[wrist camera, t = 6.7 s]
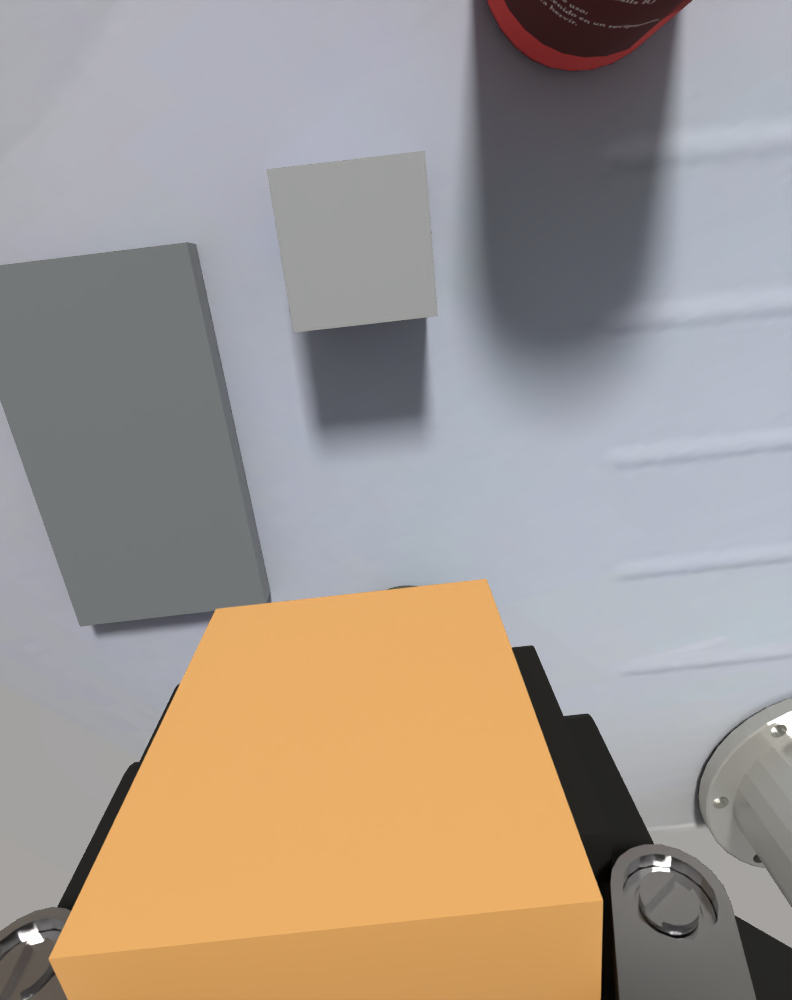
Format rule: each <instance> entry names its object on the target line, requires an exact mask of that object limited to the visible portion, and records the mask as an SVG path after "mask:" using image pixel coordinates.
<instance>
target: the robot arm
mask: <svg viewBox="0 0 792 1000" xmlns="http://www.w3.org/2000/svg"><path fill="white" fill-rule="evenodd" d="M512 651H513V653H514V656H515V659H516V662H517V664H518V667H519V670H520V673H521V676H522V678H523V681H524V684H525V687H526V689H527V692H528V695H529V698H530V700H531V703H532V706H533V709H534V711H535V714H536V717H537V720H538V722H539V725H540V728H541V731H542V733H543V736H544V739H545V742H546V744H547V747H548V750H549V753H550V755H551V758H552V761H553V764H554V766H555V769H556V772H557V775H558V777H559V780H560V783H561V786H562V788H563V791H564V794H565V797H566V800H567V802H568V805H569V808H570V811H571V813H572V816H573V819H574V822H575V824H576V827H577V830H578V833H579V835H580V838H581V841H582V844H583V846H584V849H585V852H586V855H587V857H588V860H589V863H590V866H591V868H592V871H593V874H594V877H595V879H596V882H597V885H598V888H599V890H600V893H601V896H602V899H603V926H602V968H601V1000H792V948H790V947H788V946H787V945H785V944H783V943H782V942H780V941H778V940H776V939H775V938H773V937H771V936H769V935H768V934H766V933H764V932H763V931H761V930H759V929H757V928H755V927H754V926H752V925H751V924H749V923H747V922H745V921H744V920H742V919H740V918H738V917H736V916H735V915H734V912H733V909H732V905H731V902H730V900H729V897H728V895H727V893H726V890H725V888H724V886H723V885H722V883H721V882H720V881H719V880H718V878H717V877H716V876H715V874H714V873H713V872H712V871H711V870H710V869H709V868H708V867H706V866H705V865H704V864H703V863H701V862H700V861H699V860H697V858H695V857H693V856H691V855H689V854H687V853H685V852H683V851H681V850H679V849H676V848H672V847H669V846H665V845H660V844H658V845H657V844H654V843H653V841H652V839H651V837H650V835H649V833H648V831H647V828H646V826H645V824H644V822H643V820H642V818H641V816H640V814H639V812H638V810H637V808H636V806H635V804H634V802H633V800H632V798H631V796H630V794H629V792H628V789H627V787H626V785H625V783H624V781H623V779H622V777H621V775H620V773H619V771H618V769H617V767H616V765H615V763H614V761H613V759H612V757H611V755H610V753H609V751H608V748H607V746H606V744H605V742H604V740H603V738H602V736H601V734H600V732H599V730H598V728H597V726H596V724H595V722H594V720H593V719H592V717H591V716H590V715H589V714H579V715H570V716H563V714H562V711H561V709H560V707H559V704H558V702H557V700H556V697H555V695H554V693H553V690H552V688H551V685H550V683H549V681H548V678H547V676H546V674H545V671H544V669H543V667H542V664H541V662H540V660H539V657H538V655H537V652H536V650H535V648H534V646H532V645H531V646H522V647H513V648H512ZM179 685H180V684H179ZM179 685H177V686H176V688H175V690H174V692H173V694H172V696H171V698H170V700H169V702H168V704H167V706H166V708H165V710H164V712H163V714H162V716H161V718H160V720H159V723H158V725H157V727H156V729H155V731H154V733H153V735H152V737H151V739H150V741H149V743H148V745H147V747H146V749H145V751H144V753H143V756H142V758H141V760H140V762H134V763H133V764H132V765H130V766H129V768H128V769H127V771H126V772H125V774H124V776H123V778H122V780H121V782H120V784H119V786H118V788H117V790H116V792H115V793H114V795H113V797H112V799H111V802H110V804H109V805H108V807H107V810H106V811H105V813H104V815H103V817H102V819H101V821H100V823H99V825H98V827H97V829H96V831H95V834H94V835H93V837H92V839H91V841H90V843H89V845H88V847H87V849H86V852H85V853H84V855H83V857H82V859H81V861H80V863H79V865H78V867H77V869H76V871H75V873H74V875H73V877H72V879H71V881H70V883H69V885H68V887H67V889H66V891H65V893H64V895H63V897H62V899H61V901H60V903H59V905H58V907H57V908H56V907H50V908H46V909H41V910H37V911H34V912H32V913H30V914H28V915H25V916H23V917H21V918H19V919H17V920H16V921H14V922H13V923H11V924H10V925H9V926H7V927H5V928H4V929H3V930H1V931H0V1000H68V999H67V997H66V995H65V993H64V991H63V988H62V986H61V984H60V982H59V980H58V978H57V976H56V974H55V972H54V970H53V968H52V965H51V963H50V961H49V957H50V955H51V952H52V950H53V948H54V946H55V944H56V942H57V940H58V938H59V936H60V934H61V932H62V929H63V927H64V925H65V923H66V921H67V919H68V917H69V915H70V913H71V911H72V909H73V907H74V904H75V902H76V900H77V898H78V896H79V894H80V892H81V890H82V888H83V886H84V884H85V881H86V879H87V877H88V875H89V873H90V871H91V869H92V867H93V865H94V863H95V861H96V858H97V856H98V854H99V852H100V850H101V848H102V846H103V844H104V842H105V840H106V838H107V836H108V833H109V831H110V829H111V827H112V825H113V823H114V821H115V819H116V817H117V815H118V813H119V810H120V808H121V806H122V804H123V802H124V800H125V798H126V796H127V794H128V792H129V790H130V787H131V785H132V783H133V781H134V779H135V777H136V775H137V773H138V771H139V769H140V767H141V764H142V762H143V760H144V758H145V756H146V754H147V752H148V750H149V748H150V746H151V744H152V742H153V739H154V737H155V735H156V733H157V731H158V729H159V727H160V725H161V723H162V721H163V719H164V716H165V714H166V712H167V710H168V708H169V706H170V704H171V702H172V700H173V698H174V696H175V693H176V691H177V689H178V687H179ZM699 805H700V811H701V814H702V816H703V819H704V821H705V824H706V825H707V827H708V828H709V830H710V832H711V833H712V835H713V837H714V838H715V840H716V842H717V843H718V844H720V846H722V848H723V849H724V850H725V851H726V852H727V853H729V854H731V855H732V856H734V857H735V858H737V859H739V860H741V861H743V862H745V863H748V864H750V865H754V866H757V867H762V868H766V869H767V870H768V872H769V873H770V875H771V877H772V878H773V880H774V881H775V883H776V884H777V886H778V887H779V889H780V890H781V892H782V893H783V895H784V896H785V898H786V899H787V901H788V902H789V904H790V905H791V907H792V698H789V699H786V700H784V701H782V702H779V703H777V704H774V705H772V706H770V707H767V708H766V709H764V710H762V711H760V712H759V713H757V714H755V715H754V716H752V717H750V718H749V719H747V720H746V721H745V722H743V723H742V724H741V725H740V726H738V727H737V728H736V729H735V730H733V731H732V732H731V733H730V734H729V735H728V736H727V738H726V739H725V740H724V741H723V742H722V743H721V744H720V745H719V746H718V748H717V749H716V751H715V752H714V754H713V755H712V757H711V758H710V760H709V762H708V763H707V765H706V768H705V771H704V773H703V776H702V778H701V782H700V789H699Z"/></svg>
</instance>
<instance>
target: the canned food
mask: <svg viewBox="0 0 792 1000" xmlns="http://www.w3.org/2000/svg"><path fill="white" fill-rule="evenodd" d="M487 1H488V4H489V7H490V10H491V12H492V14H493V16H494V18H495V19H496V21H497V23H498V25H499V27H500V29H501V31H502V32H503V33H504V34H505V35H506V37H507V38H508V39H509V40H510V42H511V43H512V44H513V45H514V46H515V47H516V48H517V49H518V50H520V51H521V52H522V53H523V54H525V55H526V56H527V57H528V58H530V59H531V60H534V61H536V62H538V63H540V64H542V65H544V66H547V67H551V68H556V69H562V70H568V71H578V70H592V69H595V68H599V67H602V66H605V65H608V64H612V63H614V62H615V61H617V60H619V59H621V58H622V57H624V56H626V55H628V54H630V53H631V52H633V51H634V50H635V49H636V48H637V47H639V46H640V45H641V44H642V43H643V42H644V41H646V40H647V39H648V38H649V37H650V36H651V35H653V34H654V33H655V32H656V31H657V30H658V29H660V28H661V27H662V26H663V25H664V24H665V23H667V22H668V21H669V20H670V19H671V18H672V17H674V16H675V15H676V14H677V13H678V12H679V11H680V10H682V9H683V8H684V7H685V6H686V5H687V4H689V3H690V2H691V1H692V0H487Z"/></svg>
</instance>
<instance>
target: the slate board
mask: <svg viewBox="0 0 792 1000" xmlns="http://www.w3.org/2000/svg"><path fill="white" fill-rule="evenodd" d="M0 400H1V403H2V406H3V409H4V412H5V414H6V417H7V420H8V423H9V426H10V429H11V431H12V434H13V437H14V440H15V443H16V446H17V449H18V451H19V454H20V457H21V460H22V463H23V466H24V468H25V471H26V474H27V477H28V480H29V483H30V486H31V488H32V491H33V494H34V497H35V500H36V503H37V505H38V508H39V511H40V514H41V517H42V520H43V522H44V525H45V528H46V531H47V534H48V537H49V540H50V542H51V545H52V548H53V551H54V554H55V557H56V559H57V562H58V565H59V568H60V571H61V574H62V576H63V579H64V582H65V585H66V588H67V591H68V594H69V596H70V599H71V602H72V605H73V608H74V611H75V613H76V616H77V619H78V622H79V625H80V626H88V625H96V624H105V623H114V622H123V621H131V620H140V619H149V618H157V617H166V616H175V615H183V614H192V613H201V612H209V611H215V610H216V609H219V608H228V607H237V606H246V605H255V604H265V603H267V601H268V598H269V595H270V589H269V584H268V579H267V575H266V570H265V565H264V561H263V556H262V551H261V547H260V542H259V537H258V533H257V528H256V523H255V519H254V514H253V509H252V505H251V500H250V495H249V491H248V486H247V481H246V477H245V472H244V467H243V463H242V458H241V453H240V449H239V444H238V439H237V435H236V430H235V425H234V421H233V416H232V411H231V407H230V402H229V397H228V393H227V388H226V383H225V379H224V374H223V369H222V365H221V360H220V355H219V351H218V346H217V341H216V337H215V332H214V327H213V323H212V318H211V313H210V309H209V304H208V299H207V295H206V290H205V285H204V281H203V276H202V271H201V267H200V262H199V257H198V253H197V248H196V244H192V243H179V244H171V245H163V246H155V247H146V248H138V249H130V250H122V251H114V252H106V253H97V254H89V255H81V256H73V257H65V258H57V259H48V260H40V261H32V262H24V263H16V264H8V265H0Z"/></svg>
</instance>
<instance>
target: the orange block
mask: <svg viewBox="0 0 792 1000" xmlns="http://www.w3.org/2000/svg"><path fill="white" fill-rule="evenodd" d="M602 926H603V899H602V896H601V893H600V890H599V888H598V885H597V882H596V879H595V877H594V874H593V871H592V868H591V866H590V863H589V860H588V857H587V855H586V852H585V849H584V846H583V844H582V841H581V838H580V835H579V833H578V830H577V827H576V824H575V822H574V819H573V816H572V813H571V811H570V808H569V805H568V802H567V800H566V797H565V794H564V791H563V788H562V786H561V783H560V780H559V777H558V775H557V772H556V769H555V766H554V764H553V761H552V758H551V755H550V753H549V750H548V747H547V744H546V742H545V739H544V736H543V733H542V731H541V728H540V725H539V722H538V720H537V717H536V714H535V711H534V709H533V706H532V703H531V700H530V698H529V695H528V692H527V689H526V687H525V684H524V681H523V678H522V676H521V673H520V670H519V667H518V664H517V662H516V659H515V656H514V653H513V651H512V648H511V645H510V642H509V640H508V637H507V634H506V631H505V629H504V626H503V623H502V620H501V618H500V615H499V612H498V609H497V607H496V604H495V601H494V598H493V596H492V593H491V590H490V587H489V585H488V582H487V579H482V580H473V581H464V582H455V583H446V584H437V585H427V586H418V587H409V588H400V589H391V590H382V591H373V592H364V593H355V594H346V595H337V596H328V597H319V598H310V599H301V600H292V601H283V602H274V603H265V604H255V605H246V606H237V607H228V608H219V609H216V610H215V612H214V614H213V616H212V618H211V620H210V622H209V625H208V627H207V629H206V631H205V633H204V635H203V637H202V639H201V641H200V643H199V645H198V648H197V650H196V652H195V654H194V656H193V658H192V660H191V662H190V664H189V666H188V668H187V670H186V673H185V675H184V677H183V679H182V681H181V683H180V685H179V687H178V689H177V691H176V693H175V696H174V698H173V700H172V702H171V704H170V706H169V708H168V710H167V712H166V714H165V716H164V719H163V721H162V723H161V725H160V727H159V729H158V731H157V733H156V735H155V737H154V739H153V742H152V744H151V746H150V748H149V750H148V752H147V754H146V756H145V758H144V760H143V762H142V764H141V767H140V769H139V771H138V773H137V775H136V777H135V779H134V781H133V783H132V785H131V787H130V790H129V792H128V794H127V796H126V798H125V800H124V802H123V804H122V806H121V808H120V810H119V813H118V815H117V817H116V819H115V821H114V823H113V825H112V827H111V829H110V831H109V833H108V836H107V838H106V840H105V842H104V844H103V846H102V848H101V850H100V852H99V854H98V856H97V858H96V861H95V863H94V865H93V867H92V869H91V871H90V873H89V875H88V877H87V879H86V881H85V884H84V886H83V888H82V890H81V892H80V894H79V896H78V898H77V900H76V902H75V904H74V907H73V909H72V911H71V913H70V915H69V917H68V919H67V921H66V923H65V925H64V927H63V929H62V932H61V934H60V936H59V938H58V940H57V942H56V944H55V946H54V948H53V950H52V952H51V955H50V957H49V961H50V963H51V965H52V968H53V970H54V972H55V974H56V976H57V978H58V980H59V982H60V984H61V986H62V988H63V991H64V993H65V995H66V997H67V999H68V1000H601V968H602Z"/></svg>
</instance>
